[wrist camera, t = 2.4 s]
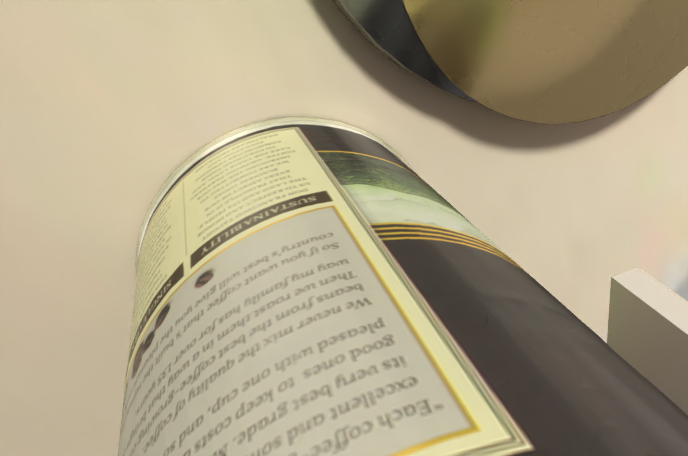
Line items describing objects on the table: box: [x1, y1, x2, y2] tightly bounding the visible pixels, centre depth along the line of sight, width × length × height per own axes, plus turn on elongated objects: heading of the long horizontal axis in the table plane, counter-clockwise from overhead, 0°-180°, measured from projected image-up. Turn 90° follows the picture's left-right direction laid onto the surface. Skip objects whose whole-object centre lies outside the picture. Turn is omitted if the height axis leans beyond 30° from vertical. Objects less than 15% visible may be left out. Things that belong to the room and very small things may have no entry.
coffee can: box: [118, 117, 688, 456], centre depth 13 cm, size 10×10×14 cm
